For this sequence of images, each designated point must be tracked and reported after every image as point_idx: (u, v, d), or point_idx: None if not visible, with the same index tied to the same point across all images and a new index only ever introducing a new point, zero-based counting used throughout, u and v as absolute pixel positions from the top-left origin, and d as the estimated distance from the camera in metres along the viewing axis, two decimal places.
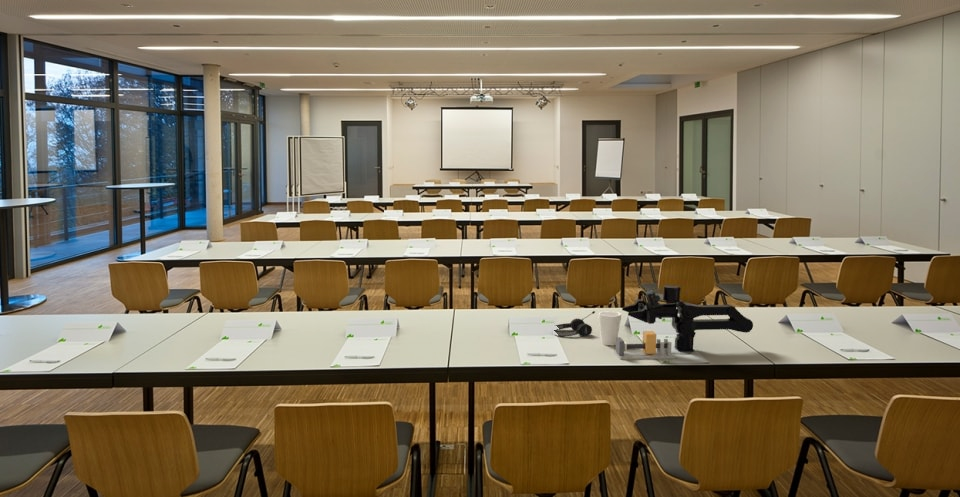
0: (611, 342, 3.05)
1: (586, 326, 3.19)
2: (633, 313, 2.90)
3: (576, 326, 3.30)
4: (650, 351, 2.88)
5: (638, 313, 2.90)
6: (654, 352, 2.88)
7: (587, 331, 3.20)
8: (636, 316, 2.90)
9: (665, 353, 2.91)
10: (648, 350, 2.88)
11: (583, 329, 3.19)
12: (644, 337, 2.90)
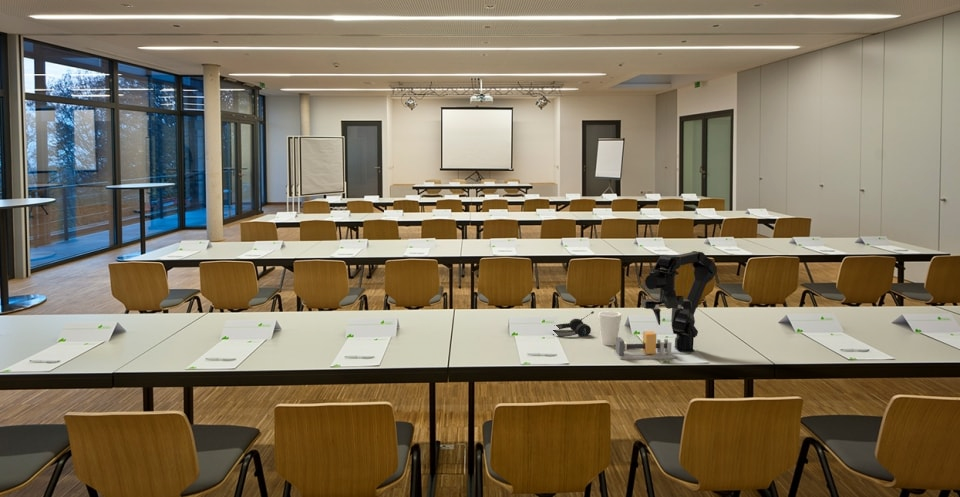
0: (611, 342, 3.05)
1: (585, 326, 3.19)
2: None
3: (575, 326, 3.30)
4: (650, 351, 2.88)
5: None
6: (654, 352, 2.88)
7: (585, 331, 3.20)
8: None
9: (665, 353, 2.91)
10: (648, 350, 2.88)
11: (582, 329, 3.19)
12: (644, 337, 2.90)
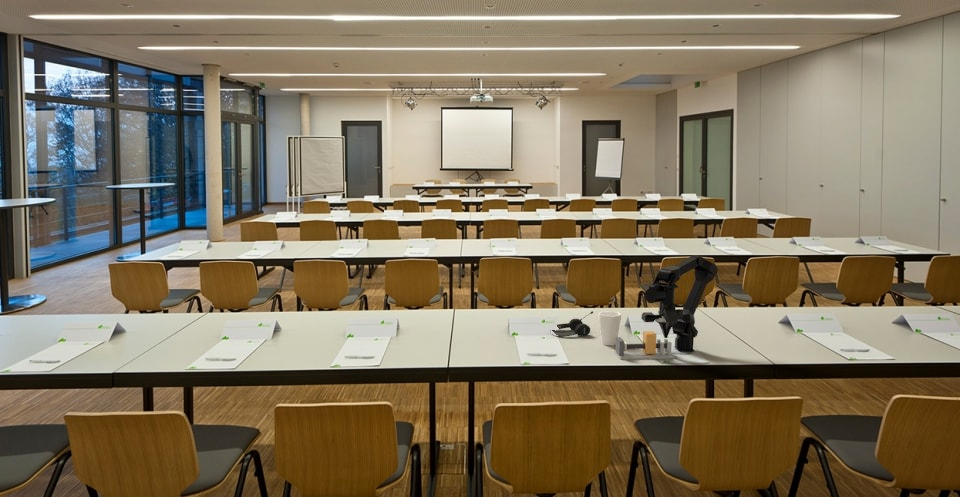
0: (611, 342, 3.05)
1: (584, 326, 3.19)
2: None
3: (574, 326, 3.30)
4: (650, 351, 2.88)
5: None
6: (654, 352, 2.88)
7: (585, 331, 3.20)
8: None
9: (665, 353, 2.91)
10: (648, 350, 2.88)
11: (581, 329, 3.19)
12: (644, 337, 2.90)
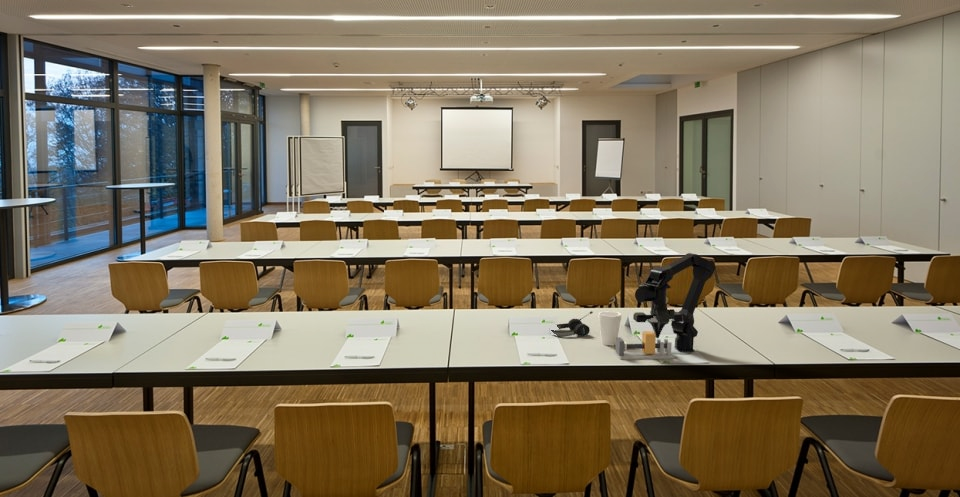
0: (611, 342, 3.05)
1: (584, 326, 3.19)
2: None
3: (574, 326, 3.30)
4: (649, 351, 2.88)
5: None
6: (653, 352, 2.88)
7: (584, 331, 3.20)
8: None
9: (665, 353, 2.91)
10: (647, 350, 2.88)
11: (581, 329, 3.19)
12: (643, 337, 2.90)
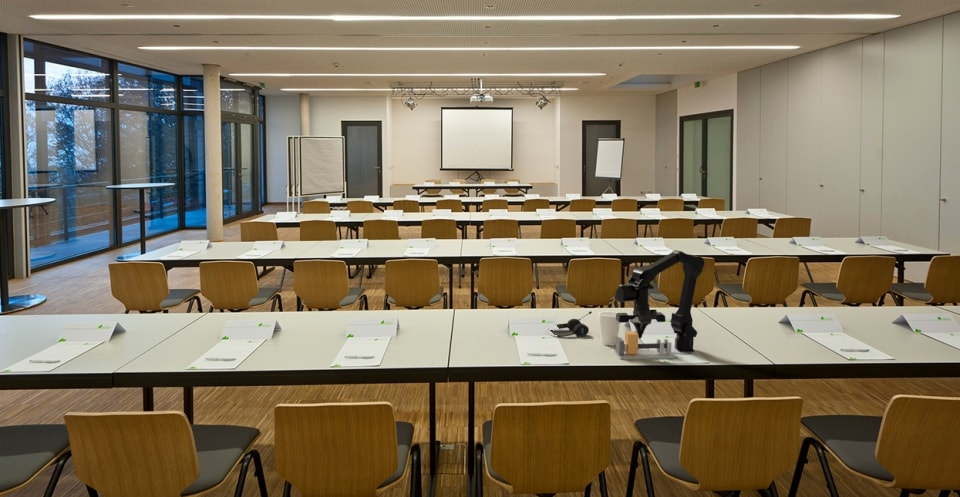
0: (611, 342, 3.05)
1: (583, 326, 3.19)
2: None
3: (573, 326, 3.30)
4: (632, 351, 2.88)
5: None
6: (636, 352, 2.88)
7: (583, 331, 3.20)
8: None
9: (665, 353, 2.91)
10: (630, 350, 2.88)
11: (580, 329, 3.19)
12: (626, 337, 2.90)
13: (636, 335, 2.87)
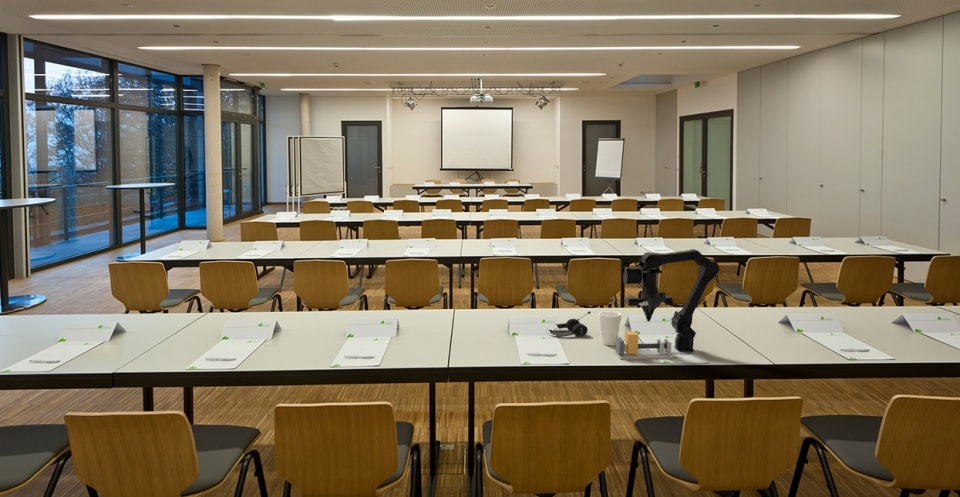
0: (611, 342, 3.05)
1: (582, 326, 3.19)
2: None
3: (572, 326, 3.30)
4: (632, 351, 2.88)
5: None
6: (636, 352, 2.88)
7: (582, 331, 3.19)
8: None
9: (665, 353, 2.91)
10: (630, 350, 2.88)
11: (579, 329, 3.19)
12: (626, 337, 2.90)
13: (636, 335, 2.87)
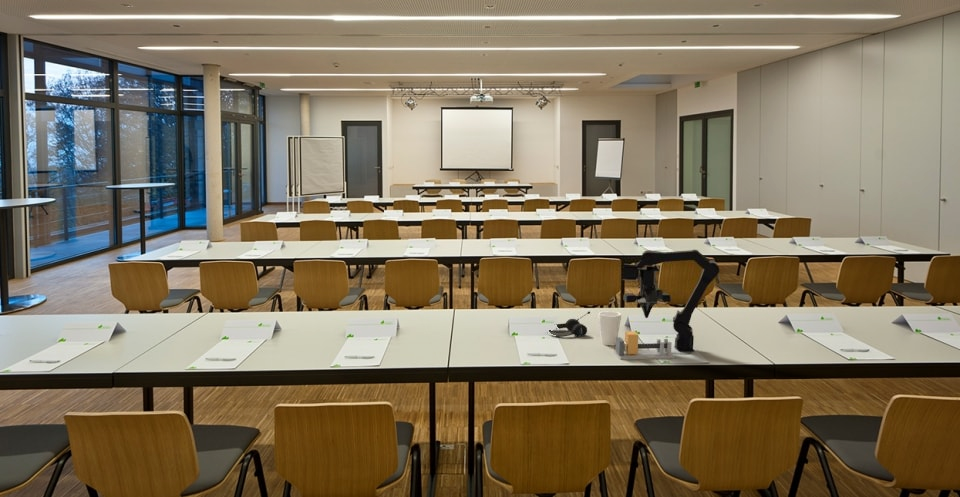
0: (611, 342, 3.05)
1: (581, 326, 3.19)
2: None
3: (571, 326, 3.29)
4: (632, 351, 2.88)
5: None
6: (636, 352, 2.88)
7: (582, 331, 3.19)
8: None
9: (665, 353, 2.91)
10: (630, 350, 2.88)
11: (578, 329, 3.19)
12: (626, 337, 2.90)
13: (636, 335, 2.87)
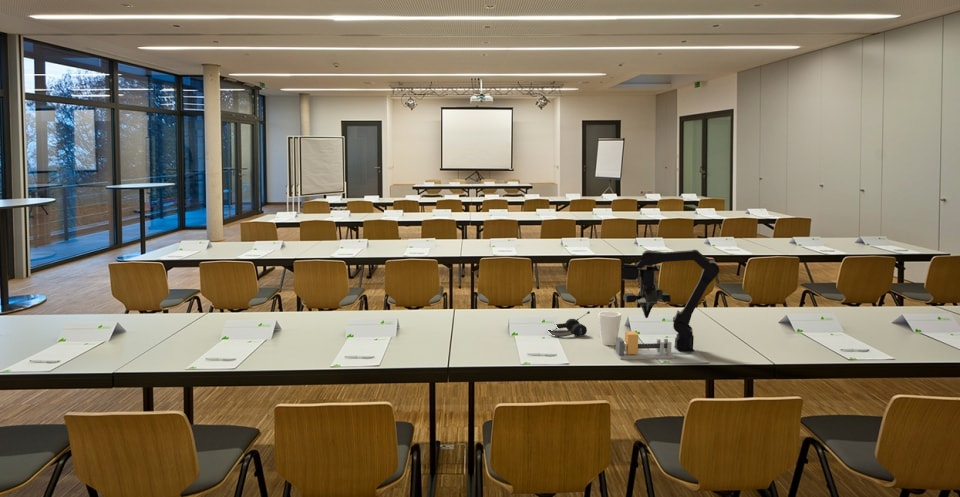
0: (611, 342, 3.05)
1: (581, 326, 3.19)
2: None
3: (571, 326, 3.29)
4: (632, 351, 2.88)
5: None
6: (636, 352, 2.88)
7: (581, 331, 3.19)
8: None
9: (665, 353, 2.91)
10: (630, 350, 2.88)
11: (578, 329, 3.19)
12: (626, 337, 2.90)
13: (636, 335, 2.87)
